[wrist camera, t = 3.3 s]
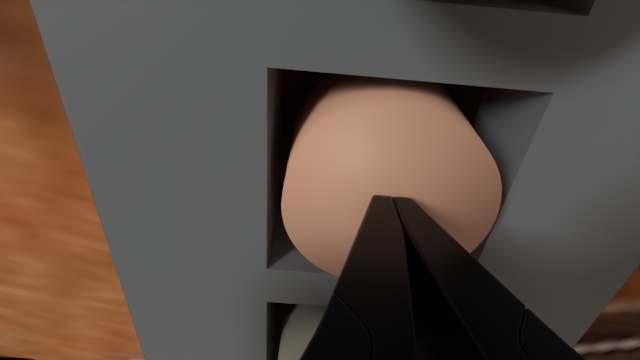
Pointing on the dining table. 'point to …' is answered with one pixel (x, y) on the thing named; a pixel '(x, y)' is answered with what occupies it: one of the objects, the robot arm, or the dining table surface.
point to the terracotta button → (383, 164)
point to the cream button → (298, 330)
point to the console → (265, 144)
